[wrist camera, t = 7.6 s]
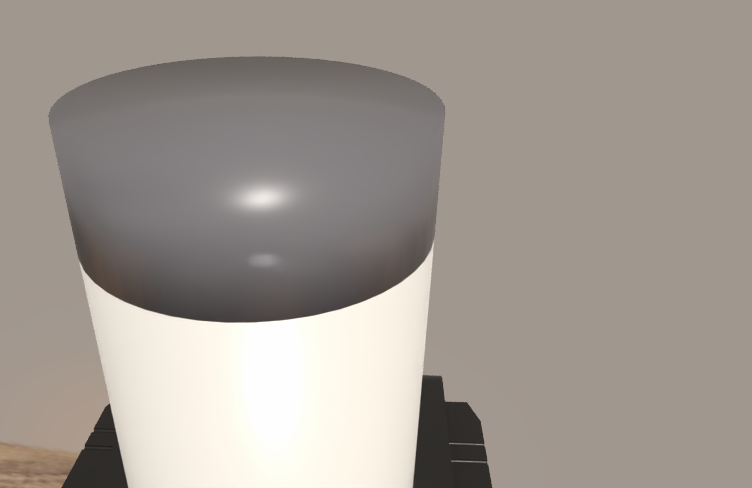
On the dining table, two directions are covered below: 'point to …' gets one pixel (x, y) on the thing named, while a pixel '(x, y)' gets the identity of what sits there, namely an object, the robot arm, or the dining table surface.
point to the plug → (256, 266)
